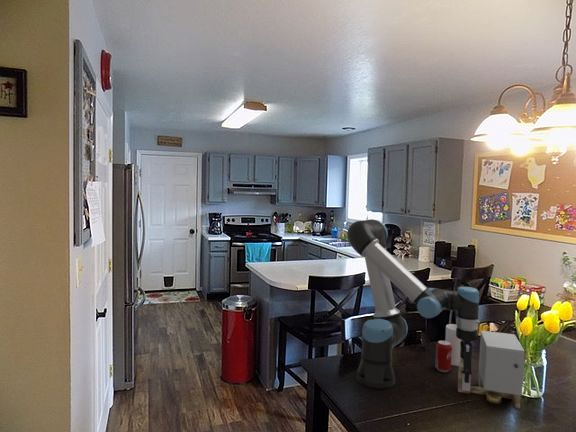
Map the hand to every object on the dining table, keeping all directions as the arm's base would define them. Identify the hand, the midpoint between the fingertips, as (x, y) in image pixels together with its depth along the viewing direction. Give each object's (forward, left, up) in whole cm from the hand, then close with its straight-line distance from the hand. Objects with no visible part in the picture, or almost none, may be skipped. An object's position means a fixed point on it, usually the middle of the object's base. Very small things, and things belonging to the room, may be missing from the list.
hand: (464, 382), depth 161 cm
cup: (-2, +28, -3) cm, 28 cm away
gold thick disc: (+10, -4, -3) cm, 11 cm away
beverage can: (-7, +17, -3) cm, 19 cm away
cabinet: (+12, 0, -3) cm, 12 cm away
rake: (+8, -3, -3) cm, 9 cm away
